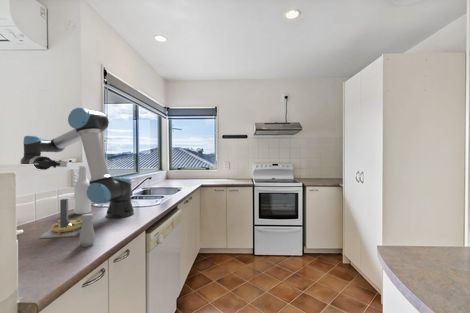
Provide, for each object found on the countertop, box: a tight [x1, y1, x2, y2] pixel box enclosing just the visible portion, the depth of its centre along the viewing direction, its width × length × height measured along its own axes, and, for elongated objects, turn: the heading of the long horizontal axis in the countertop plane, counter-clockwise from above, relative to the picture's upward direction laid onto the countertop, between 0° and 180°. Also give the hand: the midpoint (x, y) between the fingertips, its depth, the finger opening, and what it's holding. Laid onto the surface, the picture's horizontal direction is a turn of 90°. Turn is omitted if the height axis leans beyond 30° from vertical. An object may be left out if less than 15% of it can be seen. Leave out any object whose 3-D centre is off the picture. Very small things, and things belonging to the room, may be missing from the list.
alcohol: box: [73, 164, 92, 215], centre depth 142 cm, size 9×9×30 cm
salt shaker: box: [78, 212, 96, 248], centre depth 94 cm, size 6×6×13 cm
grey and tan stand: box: [50, 198, 82, 232], centre depth 110 cm, size 13×13×15 cm
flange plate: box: [39, 228, 81, 239], centre depth 110 cm, size 14×18×2 cm
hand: (65, 164), depth 118 cm, fingers closed
